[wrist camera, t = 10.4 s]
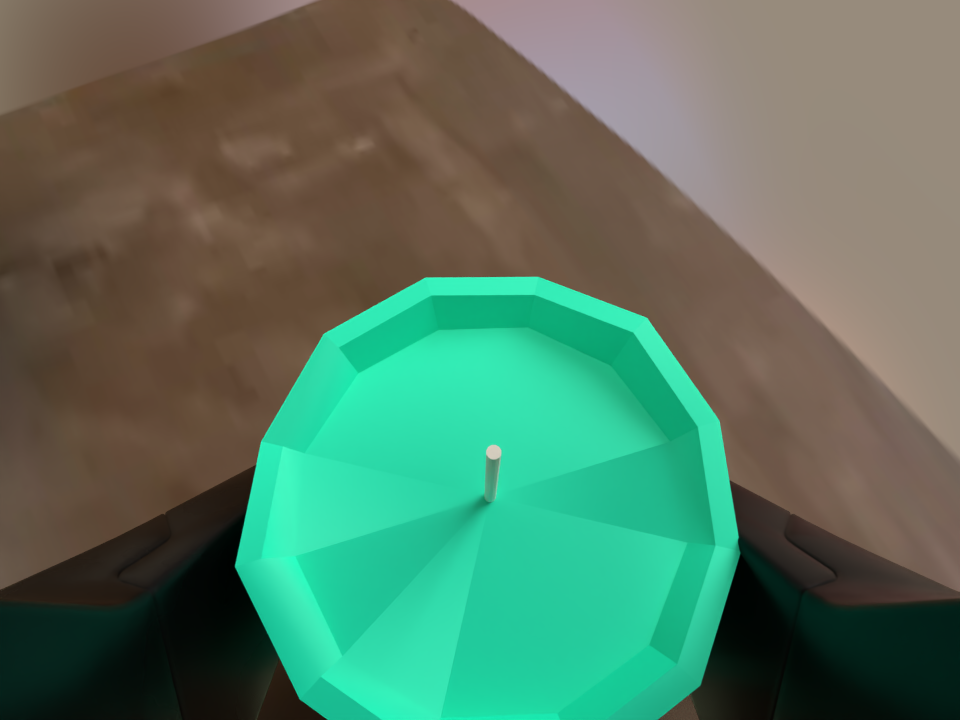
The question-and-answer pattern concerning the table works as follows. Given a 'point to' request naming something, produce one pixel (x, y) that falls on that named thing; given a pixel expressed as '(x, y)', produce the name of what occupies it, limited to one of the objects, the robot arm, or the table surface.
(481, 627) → the candle
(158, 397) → the table surface
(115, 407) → the table surface
